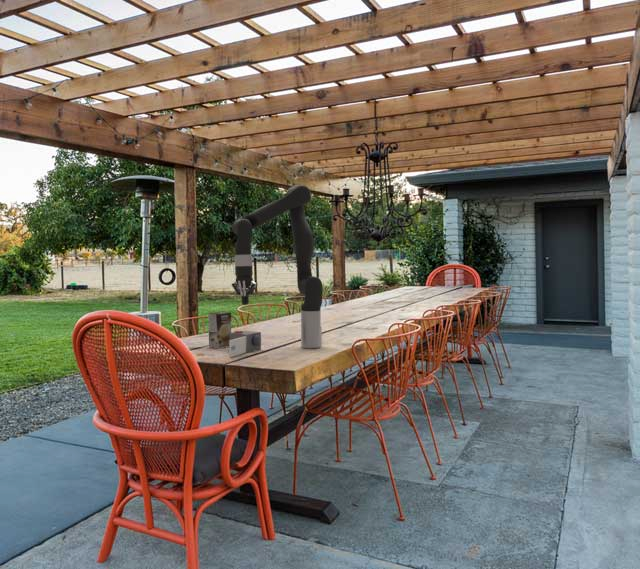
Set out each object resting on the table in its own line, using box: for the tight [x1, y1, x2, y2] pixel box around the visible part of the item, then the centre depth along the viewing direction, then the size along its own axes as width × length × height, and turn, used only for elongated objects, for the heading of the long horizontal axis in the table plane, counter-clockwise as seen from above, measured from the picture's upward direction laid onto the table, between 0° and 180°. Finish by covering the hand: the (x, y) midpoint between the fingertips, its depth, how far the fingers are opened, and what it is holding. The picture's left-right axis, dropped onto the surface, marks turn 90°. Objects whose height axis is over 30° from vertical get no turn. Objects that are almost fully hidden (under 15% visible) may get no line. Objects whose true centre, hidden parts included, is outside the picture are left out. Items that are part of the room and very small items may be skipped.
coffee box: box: [208, 311, 232, 349], centre depth 266 cm, size 9×6×16 cm
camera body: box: [230, 330, 262, 353], centre depth 256 cm, size 10×11×9 cm
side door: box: [228, 336, 248, 358], centre depth 243 cm, size 2×13×7 cm, turn 157°
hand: (245, 304), depth 246 cm, fingers closed
